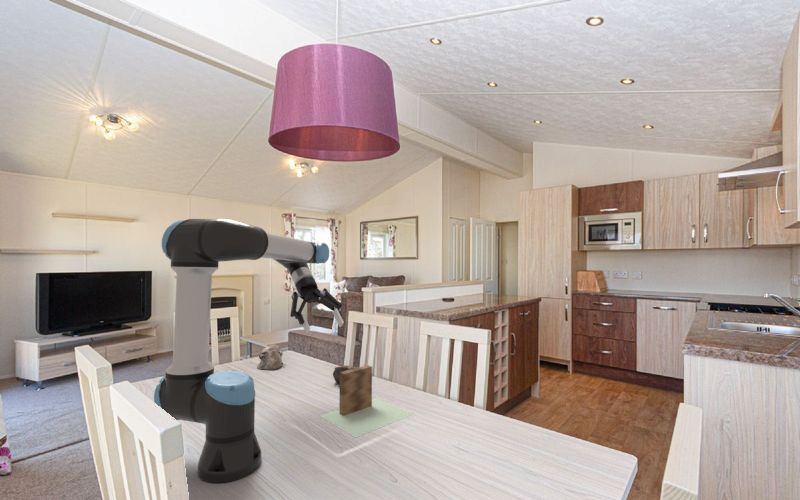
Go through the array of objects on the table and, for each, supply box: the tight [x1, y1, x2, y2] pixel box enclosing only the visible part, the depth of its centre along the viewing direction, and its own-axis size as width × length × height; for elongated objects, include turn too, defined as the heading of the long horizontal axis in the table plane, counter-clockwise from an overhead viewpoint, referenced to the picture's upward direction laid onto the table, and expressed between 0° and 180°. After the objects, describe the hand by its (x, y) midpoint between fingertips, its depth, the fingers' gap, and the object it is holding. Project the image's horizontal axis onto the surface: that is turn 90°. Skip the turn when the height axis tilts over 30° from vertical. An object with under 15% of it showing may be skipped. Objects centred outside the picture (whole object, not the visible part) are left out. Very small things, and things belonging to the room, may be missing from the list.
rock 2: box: [332, 365, 359, 384], centre depth 163 cm, size 14×9×10 cm
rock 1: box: [256, 344, 284, 371], centre depth 186 cm, size 15×12×10 cm
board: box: [338, 364, 373, 416], centre depth 134 cm, size 12×2×14 cm, turn 133°
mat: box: [319, 397, 414, 438], centre depth 130 cm, size 24×20×1 cm
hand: (325, 327), depth 137 cm, fingers open, 13 cm apart
